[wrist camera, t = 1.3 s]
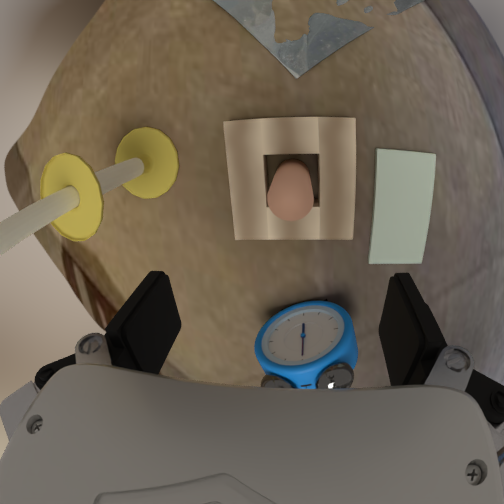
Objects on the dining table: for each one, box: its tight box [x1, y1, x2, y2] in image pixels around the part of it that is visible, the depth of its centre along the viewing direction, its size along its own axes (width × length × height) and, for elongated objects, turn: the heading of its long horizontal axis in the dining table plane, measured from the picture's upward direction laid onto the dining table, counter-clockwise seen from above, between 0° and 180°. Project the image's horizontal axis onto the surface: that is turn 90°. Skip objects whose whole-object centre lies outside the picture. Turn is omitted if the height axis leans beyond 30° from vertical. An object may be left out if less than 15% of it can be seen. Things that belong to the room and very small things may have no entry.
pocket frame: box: [223, 117, 356, 240], centre depth 31 cm, size 14×14×3 cm
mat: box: [368, 148, 436, 264], centre depth 32 cm, size 8×15×1 cm, turn 5°
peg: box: [267, 159, 314, 221], centre depth 28 cm, size 4×4×10 cm
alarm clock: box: [255, 299, 358, 389], centre depth 35 cm, size 13×6×15 cm, turn 112°
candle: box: [0, 127, 179, 256], centre depth 20 cm, size 10×10×32 cm
